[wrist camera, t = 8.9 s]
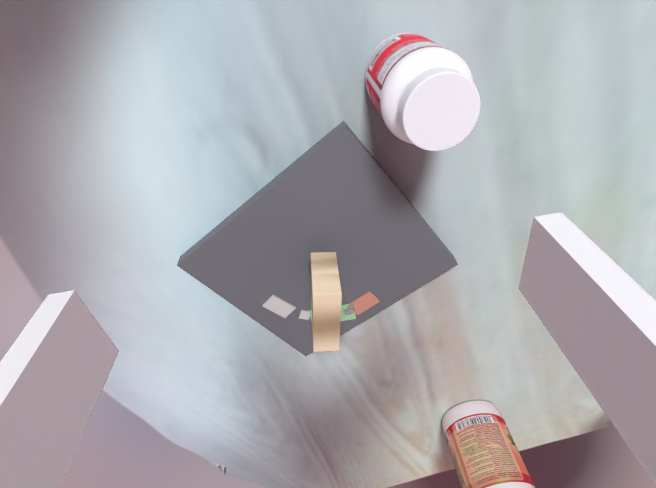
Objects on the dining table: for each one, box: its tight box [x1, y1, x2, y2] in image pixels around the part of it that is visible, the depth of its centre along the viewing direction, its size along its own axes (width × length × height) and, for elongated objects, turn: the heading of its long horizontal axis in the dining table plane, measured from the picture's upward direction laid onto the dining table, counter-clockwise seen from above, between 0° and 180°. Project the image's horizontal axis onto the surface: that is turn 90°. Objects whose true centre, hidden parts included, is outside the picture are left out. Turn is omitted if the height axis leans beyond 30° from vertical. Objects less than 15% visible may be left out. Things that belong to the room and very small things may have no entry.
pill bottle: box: [365, 33, 480, 151], centre depth 28 cm, size 6×6×11 cm
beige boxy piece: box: [308, 252, 342, 352], centre depth 39 cm, size 12×3×8 cm, turn 179°
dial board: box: [177, 121, 458, 356], centre depth 42 cm, size 20×22×2 cm
